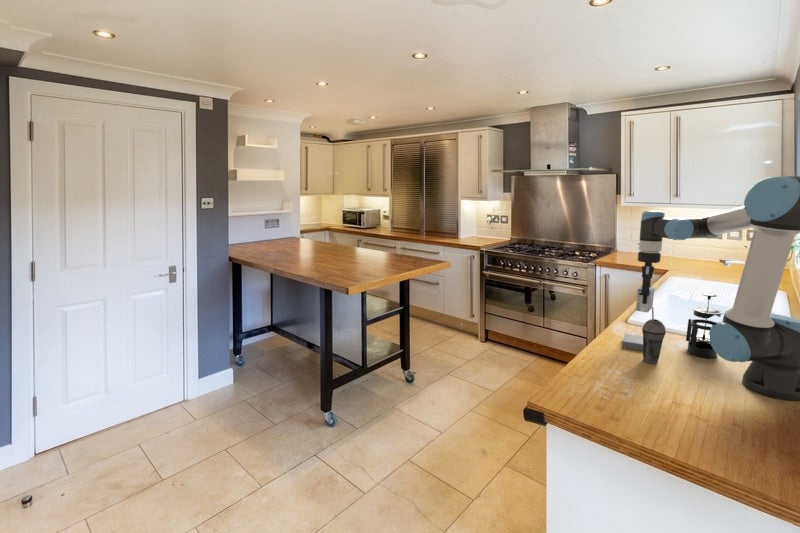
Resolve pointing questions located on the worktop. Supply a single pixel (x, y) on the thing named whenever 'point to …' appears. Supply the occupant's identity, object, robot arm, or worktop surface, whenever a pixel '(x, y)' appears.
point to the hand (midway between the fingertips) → (644, 308)
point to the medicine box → (651, 295)
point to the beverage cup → (652, 339)
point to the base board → (633, 342)
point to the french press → (701, 342)
